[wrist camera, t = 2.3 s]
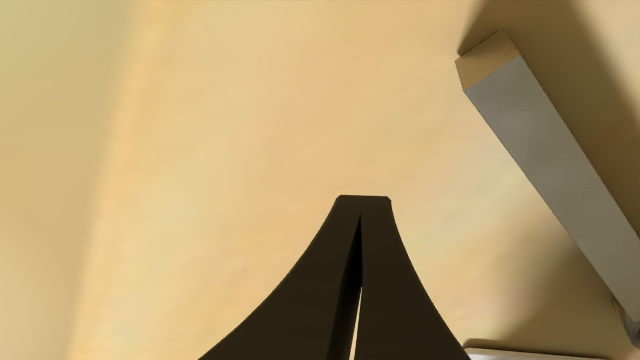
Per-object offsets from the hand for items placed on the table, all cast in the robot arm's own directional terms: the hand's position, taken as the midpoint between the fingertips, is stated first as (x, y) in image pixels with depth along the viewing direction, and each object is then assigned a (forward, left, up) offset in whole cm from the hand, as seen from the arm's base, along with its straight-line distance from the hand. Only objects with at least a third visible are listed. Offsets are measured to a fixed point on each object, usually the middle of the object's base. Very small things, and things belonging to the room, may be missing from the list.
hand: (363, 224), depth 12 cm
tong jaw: (-4, -9, -6) cm, 11 cm away
